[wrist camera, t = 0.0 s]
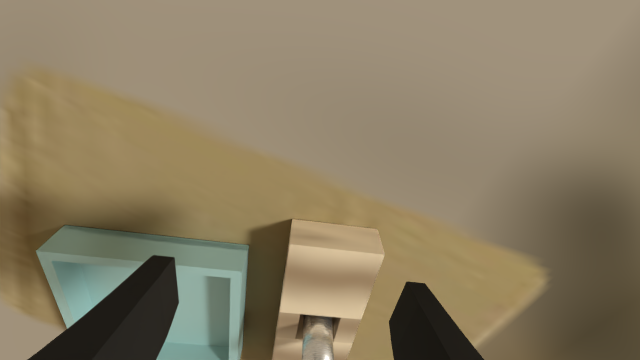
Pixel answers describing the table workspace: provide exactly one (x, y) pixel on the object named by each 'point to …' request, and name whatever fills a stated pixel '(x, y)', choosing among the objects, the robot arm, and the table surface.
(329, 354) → the pin
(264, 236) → the table surface
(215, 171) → the table surface
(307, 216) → the table surface
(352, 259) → the beige slotted block
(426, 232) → the table surface
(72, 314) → the tray
